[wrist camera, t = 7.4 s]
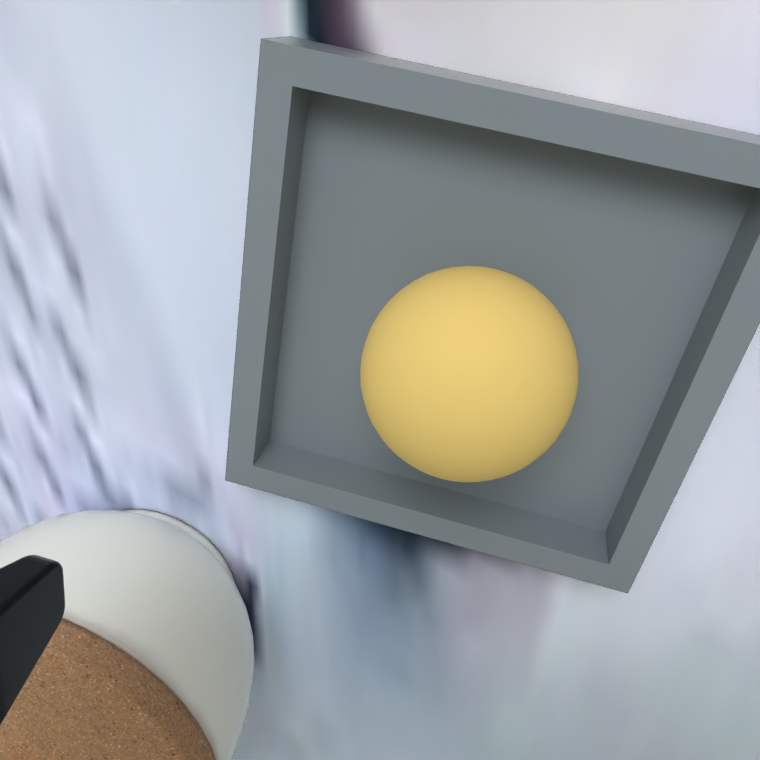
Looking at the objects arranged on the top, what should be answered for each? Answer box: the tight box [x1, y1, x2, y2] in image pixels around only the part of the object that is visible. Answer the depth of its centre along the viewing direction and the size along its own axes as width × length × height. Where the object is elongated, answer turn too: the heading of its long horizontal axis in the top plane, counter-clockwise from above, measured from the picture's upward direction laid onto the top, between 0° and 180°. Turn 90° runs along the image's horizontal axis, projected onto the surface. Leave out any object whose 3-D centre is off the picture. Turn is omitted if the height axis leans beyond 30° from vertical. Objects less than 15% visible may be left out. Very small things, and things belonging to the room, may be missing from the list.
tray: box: [225, 36, 760, 593], centre depth 18 cm, size 12×12×2 cm
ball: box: [360, 266, 578, 482], centre depth 16 cm, size 5×5×5 cm
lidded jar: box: [0, 509, 254, 760], centre depth 22 cm, size 11×11×9 cm
